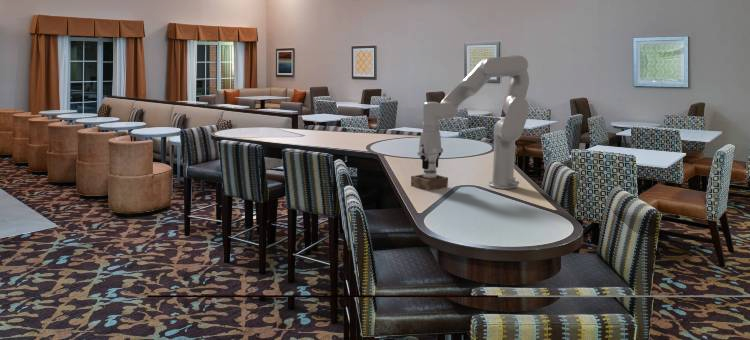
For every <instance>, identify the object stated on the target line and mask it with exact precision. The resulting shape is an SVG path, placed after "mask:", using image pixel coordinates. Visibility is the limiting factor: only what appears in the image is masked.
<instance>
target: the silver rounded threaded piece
mask: <svg viewBox="0 0 750 340" xmlns="http://www.w3.org/2000/svg"><path fill="white" fill-rule="evenodd" d="M424 153H425V152H424ZM437 153H438V150H437V149H436V148H433V149H432V150H431V151H430V154H429V155H428V158H427V161H428V169H423V172H422V174H423V179H426V180H433V179H437V175H438V174H437V168H436V159H437ZM424 156H426V155H424Z"/></svg>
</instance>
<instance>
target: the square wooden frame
mask: <svg viewBox="0 0 750 340" xmlns="http://www.w3.org/2000/svg"><path fill="white" fill-rule="evenodd" d="M448 183H449V177H447V176H443V175H439V174H437V179H433V180H426V179H423V173H422V174H416V175H411V176H410V186H411V187H414V188H418V189H421V190H425V191H429V192H430V191H434V190H439V189H445V188H448V186H449V184H448Z"/></svg>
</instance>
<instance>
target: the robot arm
mask: <svg viewBox="0 0 750 340" xmlns="http://www.w3.org/2000/svg"><path fill="white" fill-rule="evenodd" d="M528 68H529V61H528V60H527V59H526V57H525V56H522V55H520V54H519V55H518V54H517V55H516V54H515V55H514V54H513V55H508V56H500V57H499V56H498V57H495V56H494V57H493V56H489V57H487V56H486V57H485V58H483V59H482V60H480V61H479V62H478V63H477V65H475V66H474V68H473V69H472V70H471V71H470V72H469V73H468V74H467V75H466V76H465V77H464V78H463V79H462V80H461V81H460V82H459V83H458V84H457V85H455V87H454V88H453V89H451V90H450V92H449V93H448V94H447V95H446V96H444V98H443V99H442V100H441V101H440V102H437V101H426V102H424V103H423V108H422V131H421V133H420V138H419V144H418V152H417V156H418V157H419V158H420V160H421V162H422V163H421V165H422V166H421V168H422V169H423V170H424V169H428V161H427V158H428V155H429V154H430V151H431V150H432V149H433V148H436V149H437V150H438V153H437V159H436V169H437V168H439V159H440V157H441V155H442V153H443V152H444V149H443V147H442V139H441V138H442V137H441V131H440V129H441V126H440V122H441V121H440V119H447V120H448V119H449V120H450V119H451V120H452V119H453V118H455V117H456V116H457V115H458V112H459V109H458V107H459V106H460V105H461V104H462V103H464V101H466V100H467V99H469V98H470V97H472V96H474V95H476V94H477V93H479V91H480V90H481V89H482V88H483V87H484V86H485V85H486V84H487V83H488V82H489V80H491V79H492V78H501V77H502V78H503V77H509V84H508V87H507V88H508V89H507V92H506V95H505V97H504V100H503V103H502V111H503V112H504V114H505V116H504V118H501V119H498V120H497V121H496V122H495V124H494V126H493V145H494V146H493V160H492V161H493V162H492V163H493V164H492V178H491V181H490V182H488V186H489V187H491V188H494V189H500V190H508V189H509V190H512V189H515V188H517V187H518V186H519V184H520V181H517V180H516V177H515V158H516V157H515V156H516V141H518V140H519V139H520V138H521V136H522V133H523V132H524V128H525V126H526V122H527V119H528V117H529V113H530V105H529V102H528V101H527V98H526V97H527V94H528V89H529V85H530V76H529V73H528ZM424 152H425V153H424ZM424 155H426V156H424Z"/></svg>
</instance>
